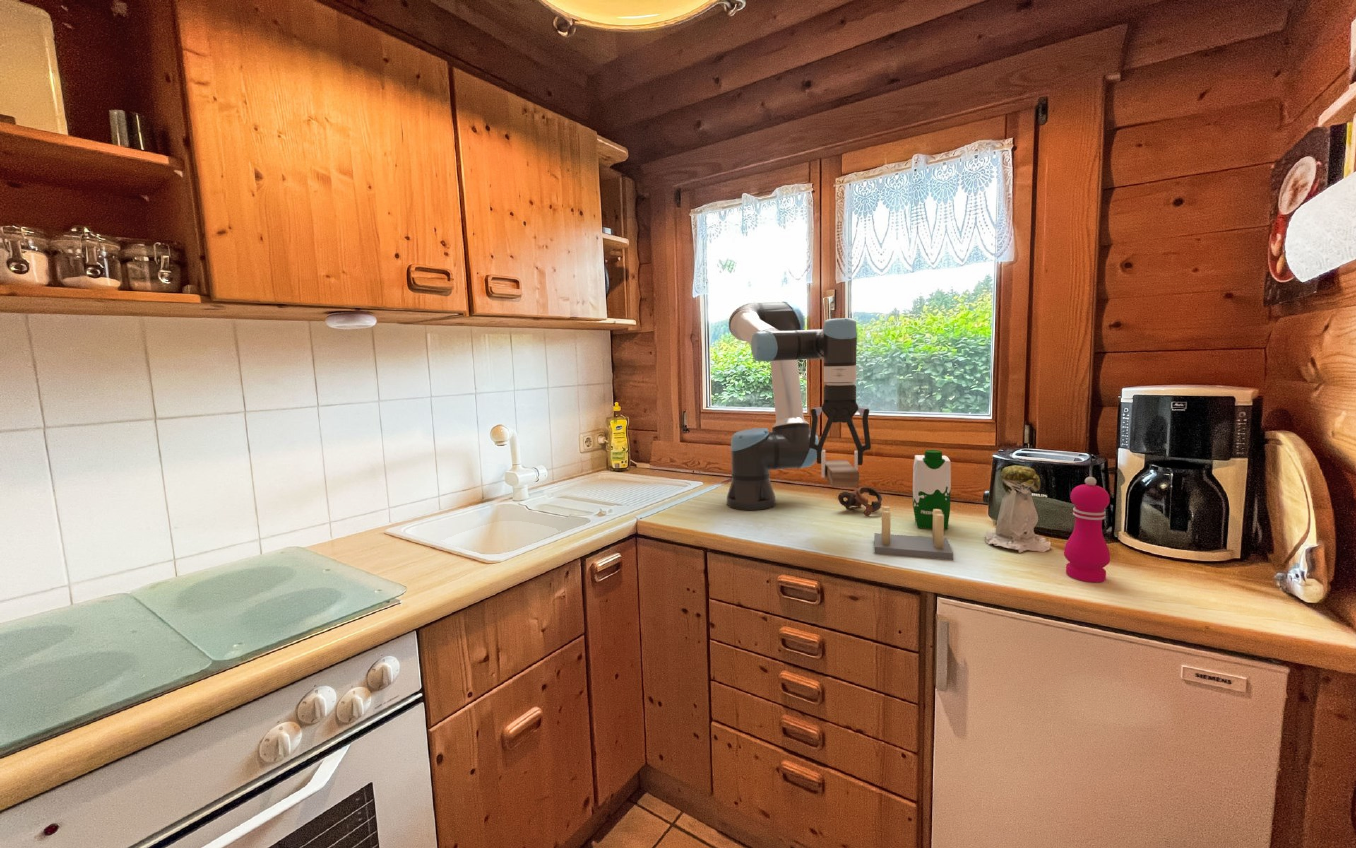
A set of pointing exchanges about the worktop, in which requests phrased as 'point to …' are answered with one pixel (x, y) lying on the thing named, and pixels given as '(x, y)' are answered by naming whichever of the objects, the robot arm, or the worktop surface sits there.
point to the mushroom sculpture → (1018, 512)
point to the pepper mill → (1088, 534)
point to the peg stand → (913, 540)
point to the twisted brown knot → (861, 499)
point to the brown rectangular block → (841, 473)
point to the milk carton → (931, 487)
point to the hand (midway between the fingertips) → (839, 477)
